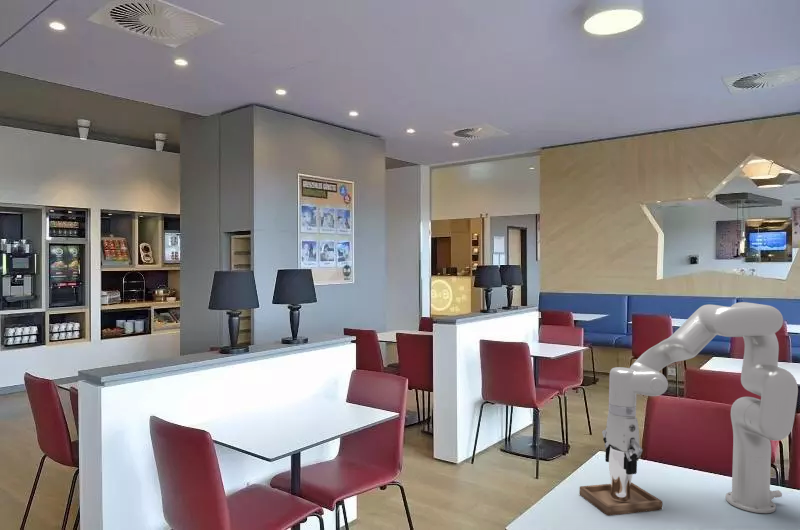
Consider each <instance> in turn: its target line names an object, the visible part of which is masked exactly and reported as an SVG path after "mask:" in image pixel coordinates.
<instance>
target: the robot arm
mask: <svg viewBox="0 0 800 530" xmlns="http://www.w3.org/2000/svg"><path fill="white" fill-rule="evenodd" d="M783 324H784V317H783V314H782V313H781V311H780V310H779V309H778V308H776V307H774V306H772V305H769V304H762V303H760V304H759V303H756V302H747V301H742V302H741V301H740V302H736V303H733V304H732V305H731V306H725V305H724V306H723V305H718V304H712V303H711V304H703V305H701V306H699V308H698V309H696V310H695V311H694V312H693V313H692V314H691V315H690V316H689V317H688V318H687V319H686V320H685V321H684V323H682V324H681V326H680V327H679V328H677V329H676V330H675V332H673V333H672V334H671V335H670V336H669V337H668V338H665V339H663V340H662V341H660V342H659V343H657V344H655V345H653V346H652V347H650V348H648V349H647V350H646V351H644V352H643V353H642V354H641V355H639V357H637V359H636V360H635V361H634V362H633V363H632V364H631V365H630V366H629V367H622V366H621V367H619V366H618V367H617V366H616V367H612V368H611V369H610V371H609V377H608V378H609V380H608V381H609V388H608V412H607V416H606V417H607V419H606V426H605V429H603V430H602V431H601V434H602V439H603V440H602V441H603V442H604V448H605V457H604V458H605V462H606V463H609V452H610V446H611V445H612V446H614V447H616V448H617V449H619V450H621V451H623V452H625V454H626V456H627V459H628V460H626V474H628V475H629V474H633V475H636V474H637V471H638V469H637V467H638V461H639V459H640V458H641V455H642V453H643V448H642V447H641V446H640V431H639V429H640V428H639V421H638V418H637V395H644V396H648V397H658V396H661V395H663V394H665V393H666V391H667V390H668V387H669V381H668V379H667V378H666V376H665V375H664V374H663V373H662V372H660V371H661V370H663V369H664V368H665V367H667V366H669V365H671V364H673V363H676V362H682V361H688V360H691V359H693V358H695V357H696V356H697V355H698V354H699V353H700V352H701V351H703V349H704V348H705V347H706V346H707V345H708V344H709V343H710V342H711V341H712V340H713V339H714V338H715V337H716V336H720V337H721V336H722V337H726V338H743V342H744V351H743V353H744V354H743V359H742V367H741V373H740V374H741V375H740V383H741V385H742V387H743V388H744V390H746V391H747V392H750V393H751V394H755V395H757V396H759V397H760V399H759V398H756V397H754V396H742V397H739V398H737V399H736V400H734V402H733V403H732V405H731V408H730V421H731V425H732V436H733V437H732V438H733V443H732V445H733V446H732V474H731V475H732V477H731V491H729V492H727V493H726V494H725V500H726V502H727V503H728V504H730V505H731V506H733V507H736V508H737V509H740V510H743V511H746V512H751V513H756V514H757V513H758V514H770V513H774V512H775V511H776V509H777V506H776V504H775V502H773V500H774V499H775V498H782V496H783V493H782V492H781V491H780V490H771V464H772V462H771V461H772V458H771V457H772V446H771V445H772V444H771V441H774V442H775V441H776V442H777V441H782V440H784V439H786V438H787V437H788V436H790V433H792V431H793V430H792V429H793V426H794V421H795V416H796V408H797V404H798V403H797V402H798V395H799V394H798V393H799V388H798V387H799V386H798V382H797V380H796V378H795V376H794V375H793V374H792V373H791V372H790V371H788V370H786V369H785V368H783V367H778V365H779V353H780V352H779V351H780V348H779V347H780V346H779V341H778V338H777V335H776V333H777V332H779V331H780V330H781V328H782V326H783ZM629 448H630V449H629ZM630 453H632V454H633V455H630Z"/></svg>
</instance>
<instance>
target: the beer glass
mask: <svg viewBox="0 0 800 530" xmlns="http://www.w3.org/2000/svg"><path fill="white" fill-rule="evenodd" d="M629 449H630V448H629ZM630 455H633V454H632V453H630ZM626 460H628V459H627V456H626V454H625V452H623V451H621V450H619V449H617V448H616V447H614V446H612V445H611V446H610V452H609V462H608V469H609V476H610V477H609V478H610V484H611V489H610V493H609V497H610V498H611V499H612V500H614V501H617V502H622V503H627V502H630V501H631V494H630V484H631V482H632V479H633V475H634V474H629V475H628V474H626Z"/></svg>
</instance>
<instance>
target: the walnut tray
mask: <svg viewBox="0 0 800 530" xmlns="http://www.w3.org/2000/svg"><path fill="white" fill-rule="evenodd" d="M610 489H611V483H605V484H591V485H582V486H579V494H580V495H579V494H578V495H579V496H581V498H583V497H584V498H583V499H584V500H586V501H587V500H588V501H587V502H588V503H590V504H591V503H592V504H591V505H593V506H594V507H595V508H596V507H597V508H596V509H598V510H600V512H602V513H603V514H604V515H605V516H607V517H608V516H616V515H617V516H618V515H626V514H628V515H629V514H636V513H645V512H646V513H647V512H655V511H662V510H663V500H661V499H660V498H657V497H656V496H654V495H653V494H651V493H649V492H648V491H646V490H645V489H643V488H641V487H640V486H638V485H636V484H635V483H633V482H632V481H631V484H630V494H631V501H630V502H627V503H622V502H617V501H614V500H612V499H611V498H610V497H609V493H610Z"/></svg>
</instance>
